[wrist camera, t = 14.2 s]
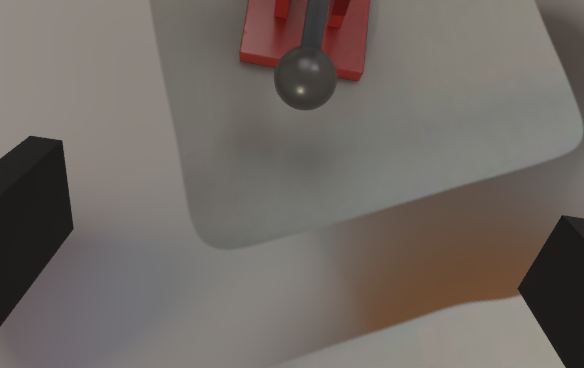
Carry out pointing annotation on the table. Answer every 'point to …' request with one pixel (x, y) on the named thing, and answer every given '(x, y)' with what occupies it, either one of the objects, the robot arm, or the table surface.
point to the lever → (307, 64)
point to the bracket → (289, 28)
